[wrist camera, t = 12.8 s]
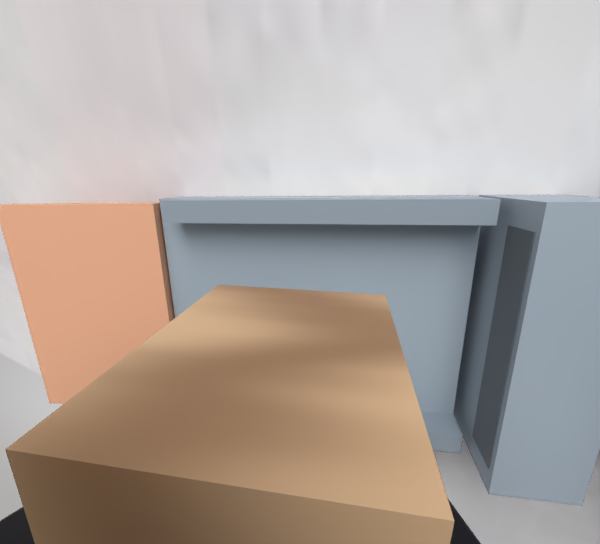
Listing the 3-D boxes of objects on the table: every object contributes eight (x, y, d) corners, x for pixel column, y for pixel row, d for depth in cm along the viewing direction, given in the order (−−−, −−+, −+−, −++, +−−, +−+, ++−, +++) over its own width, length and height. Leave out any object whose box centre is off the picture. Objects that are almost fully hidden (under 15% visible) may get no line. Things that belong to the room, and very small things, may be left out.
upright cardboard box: (385, 294, 7) (454, 521, 2) (366, 495, 9) (385, 864, 4) (218, 284, 8) (5, 449, 3) (230, 474, 9) (107, 776, 5)
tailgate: (152, 203, 15) (-5, 205, 16) (180, 406, 18) (49, 403, 19) (162, 202, 16) (14, 204, 16) (187, 395, 19) (62, 392, 20)
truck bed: (560, 194, 15) (678, 201, 9) (515, 411, 18) (583, 506, 13) (180, 197, 17) (106, 203, 12) (201, 383, 21) (151, 450, 16)
